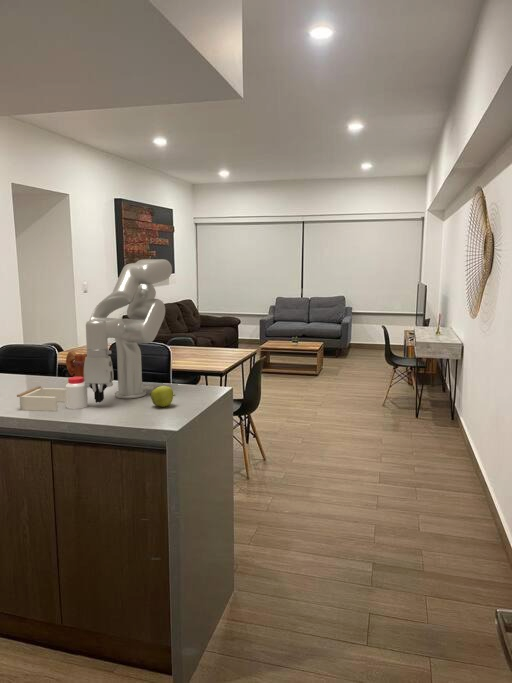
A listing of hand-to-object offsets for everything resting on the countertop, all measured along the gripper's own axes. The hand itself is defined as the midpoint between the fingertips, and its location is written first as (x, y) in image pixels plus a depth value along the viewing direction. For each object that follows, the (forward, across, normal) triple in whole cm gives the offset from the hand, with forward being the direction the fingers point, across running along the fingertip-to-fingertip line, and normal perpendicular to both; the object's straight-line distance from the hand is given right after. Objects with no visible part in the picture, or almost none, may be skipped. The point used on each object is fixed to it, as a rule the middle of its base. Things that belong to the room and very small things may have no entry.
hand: (99, 401), depth 191 cm
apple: (+2, -24, -3) cm, 24 cm away
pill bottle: (+2, +9, 0) cm, 9 cm away
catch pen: (+2, +21, 0) cm, 21 cm away
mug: (+2, +24, -35) cm, 42 cm away
